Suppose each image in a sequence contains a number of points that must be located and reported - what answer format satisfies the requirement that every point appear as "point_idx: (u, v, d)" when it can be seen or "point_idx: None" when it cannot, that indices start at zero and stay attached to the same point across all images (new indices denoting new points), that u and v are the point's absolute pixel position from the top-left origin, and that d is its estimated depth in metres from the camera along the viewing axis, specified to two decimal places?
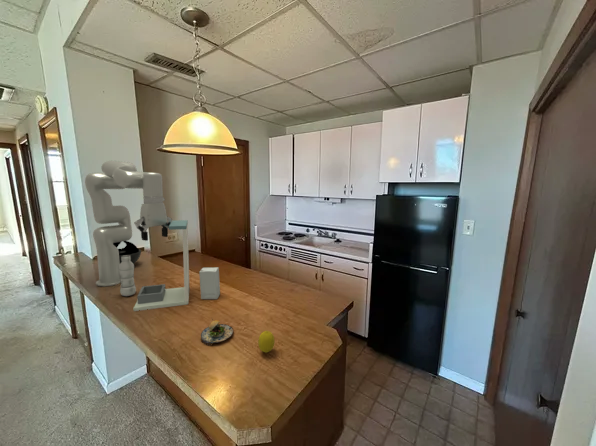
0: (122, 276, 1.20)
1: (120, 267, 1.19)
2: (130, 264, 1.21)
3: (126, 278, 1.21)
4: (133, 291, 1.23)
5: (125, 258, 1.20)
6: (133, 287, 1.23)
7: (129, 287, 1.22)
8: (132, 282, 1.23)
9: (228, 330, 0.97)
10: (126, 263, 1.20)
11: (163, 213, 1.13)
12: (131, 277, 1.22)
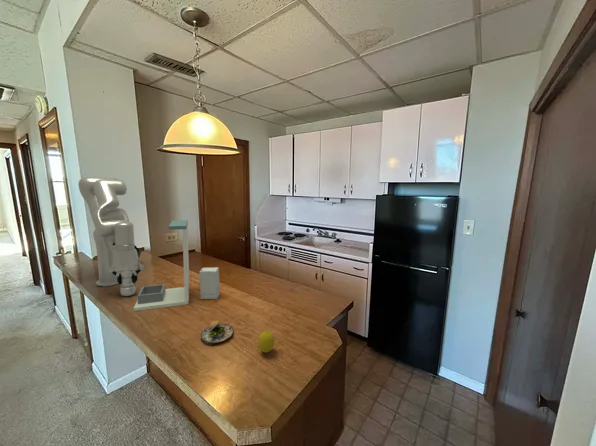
0: (122, 276, 1.20)
1: None
2: None
3: (126, 278, 1.21)
4: (133, 291, 1.23)
5: None
6: (133, 287, 1.23)
7: (129, 287, 1.22)
8: (132, 282, 1.23)
9: (228, 330, 0.97)
10: None
11: None
12: (131, 277, 1.22)
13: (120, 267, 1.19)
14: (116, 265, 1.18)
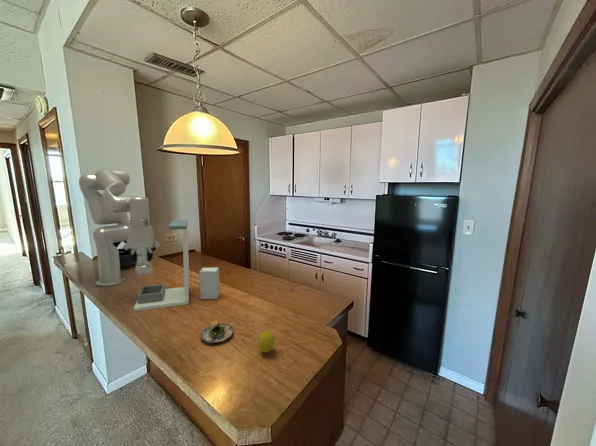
0: (137, 253, 1.15)
1: None
2: None
3: (141, 255, 1.15)
4: (149, 270, 1.18)
5: None
6: (149, 265, 1.18)
7: (145, 265, 1.17)
8: (148, 260, 1.18)
9: (228, 330, 0.97)
10: None
11: None
12: (147, 255, 1.17)
13: (135, 244, 1.14)
14: (131, 241, 1.13)
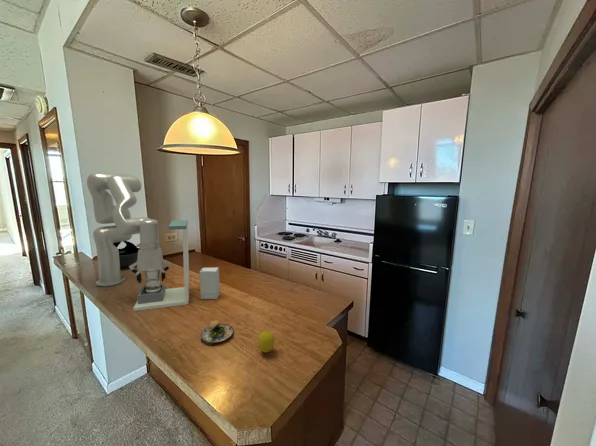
0: (148, 278, 1.15)
1: None
2: None
3: (152, 280, 1.16)
4: None
5: None
6: (159, 289, 1.19)
7: (155, 289, 1.17)
8: (158, 284, 1.18)
9: (228, 330, 0.97)
10: None
11: None
12: (157, 279, 1.18)
13: (145, 266, 1.14)
14: (141, 264, 1.13)
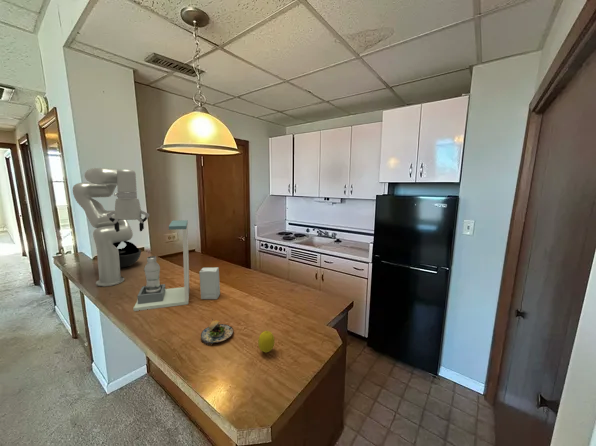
0: (148, 278, 1.15)
1: (146, 268, 1.15)
2: (156, 266, 1.16)
3: (152, 280, 1.16)
4: None
5: (151, 259, 1.15)
6: (159, 289, 1.19)
7: (155, 289, 1.17)
8: (158, 284, 1.18)
9: (228, 330, 0.97)
10: (152, 264, 1.15)
11: None
12: (157, 279, 1.17)
13: (122, 215, 1.17)
14: (118, 213, 1.16)
